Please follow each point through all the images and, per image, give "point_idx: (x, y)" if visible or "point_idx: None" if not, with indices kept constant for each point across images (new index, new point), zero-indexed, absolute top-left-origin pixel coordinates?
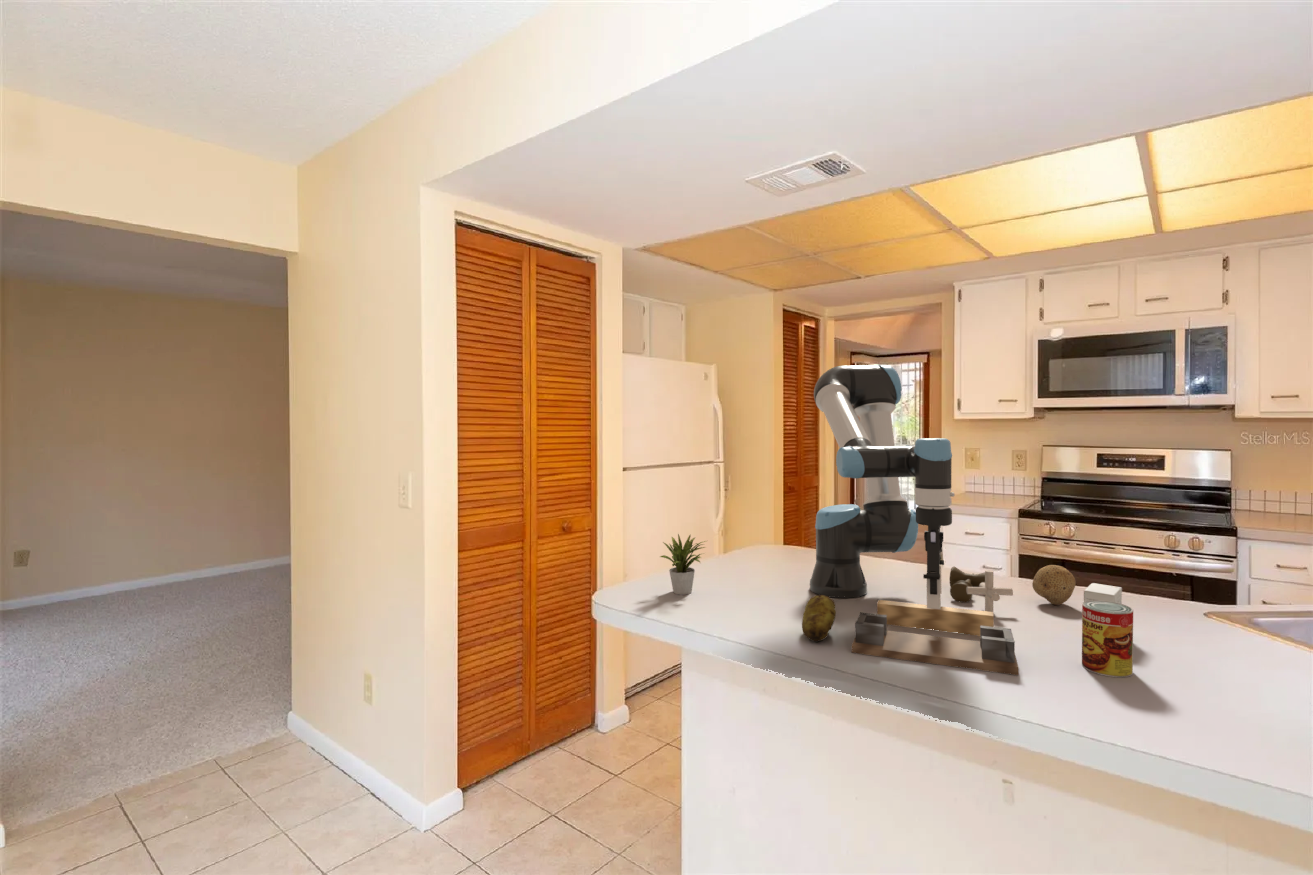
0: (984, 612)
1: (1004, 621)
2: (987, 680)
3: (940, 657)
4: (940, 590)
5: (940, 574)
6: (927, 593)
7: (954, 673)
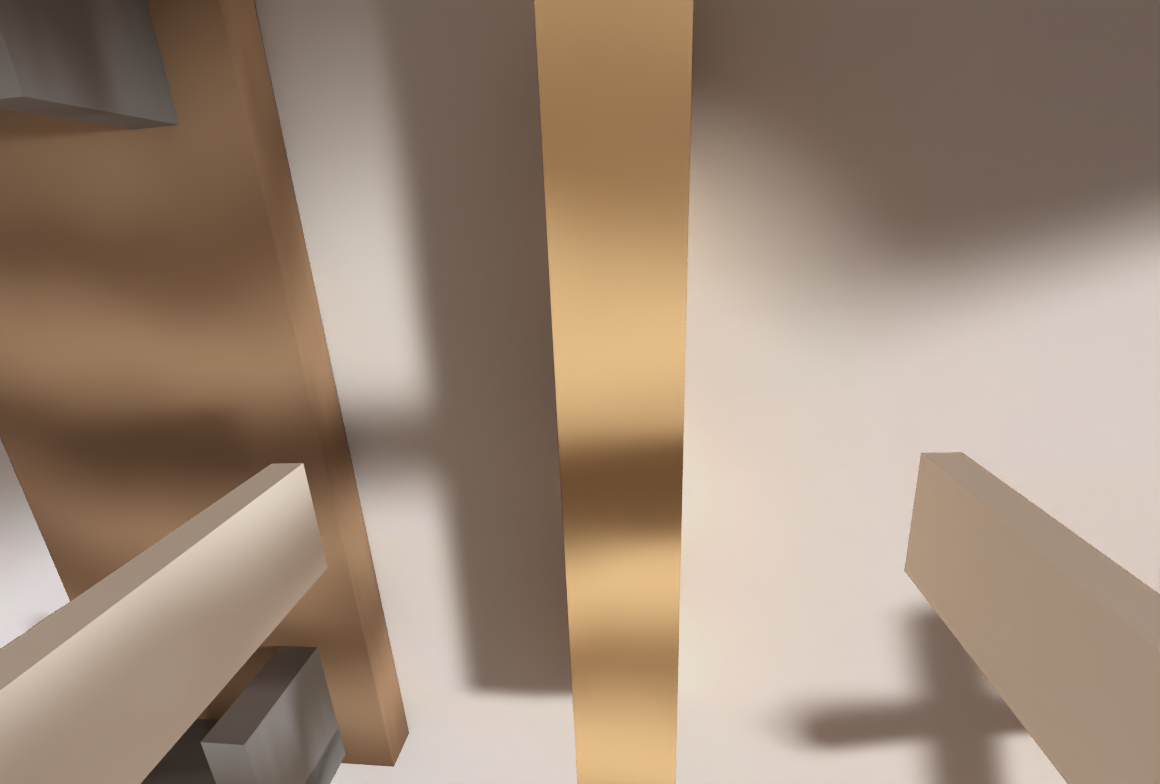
0: (641, 775)
1: (918, 759)
2: (36, 620)
3: (19, 474)
4: (926, 585)
5: (1072, 773)
6: (154, 554)
7: (10, 512)
